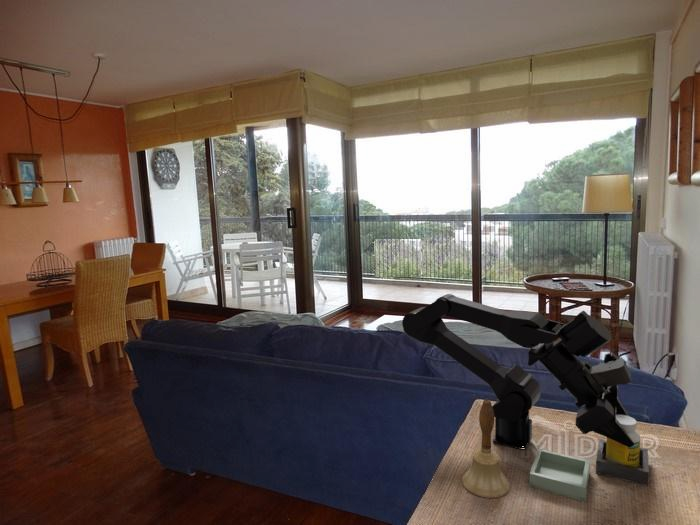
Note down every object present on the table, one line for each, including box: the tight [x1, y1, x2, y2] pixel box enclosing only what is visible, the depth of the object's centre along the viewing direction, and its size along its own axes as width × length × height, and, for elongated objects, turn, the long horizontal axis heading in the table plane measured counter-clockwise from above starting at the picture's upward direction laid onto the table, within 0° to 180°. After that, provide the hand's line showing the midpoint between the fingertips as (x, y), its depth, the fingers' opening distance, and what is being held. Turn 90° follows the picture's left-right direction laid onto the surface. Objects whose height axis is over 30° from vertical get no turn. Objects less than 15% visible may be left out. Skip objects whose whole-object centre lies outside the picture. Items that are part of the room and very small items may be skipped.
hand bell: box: [461, 399, 511, 499], centre depth 83 cm, size 8×8×16 cm
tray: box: [528, 448, 591, 502], centre depth 84 cm, size 9×9×2 cm
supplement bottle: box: [605, 415, 641, 468], centre depth 86 cm, size 5×5×10 cm
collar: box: [595, 439, 650, 486], centre depth 87 cm, size 8×8×2 cm
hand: (632, 436), depth 85 cm, fingers open, 7 cm apart
